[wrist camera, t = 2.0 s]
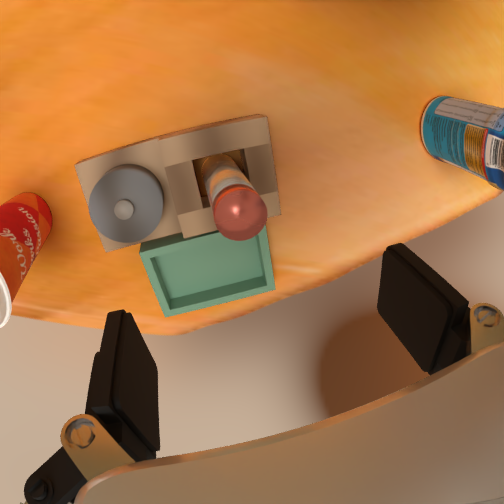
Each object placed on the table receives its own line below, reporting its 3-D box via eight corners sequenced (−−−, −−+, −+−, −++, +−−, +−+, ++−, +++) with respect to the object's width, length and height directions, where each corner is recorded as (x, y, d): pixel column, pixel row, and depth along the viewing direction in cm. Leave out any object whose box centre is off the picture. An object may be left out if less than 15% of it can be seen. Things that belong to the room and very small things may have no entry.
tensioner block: (258, 114, 27) (271, 118, 23) (272, 203, 32) (286, 221, 28) (79, 161, 25) (63, 173, 21) (108, 245, 30) (99, 268, 26)
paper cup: (59, 257, 29) (11, 352, 17) (1, 243, 26) (-61, 324, 14) (65, 187, 26) (-2, 261, 14) (2, 175, 23) (-81, 236, 11)
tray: (258, 211, 32) (264, 221, 29) (269, 276, 36) (275, 289, 34) (141, 240, 30) (139, 252, 28) (165, 303, 34) (165, 317, 32)
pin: (232, 150, 28) (263, 185, 18) (238, 182, 30) (271, 233, 20) (198, 158, 28) (209, 198, 18) (205, 190, 29) (220, 246, 20)
